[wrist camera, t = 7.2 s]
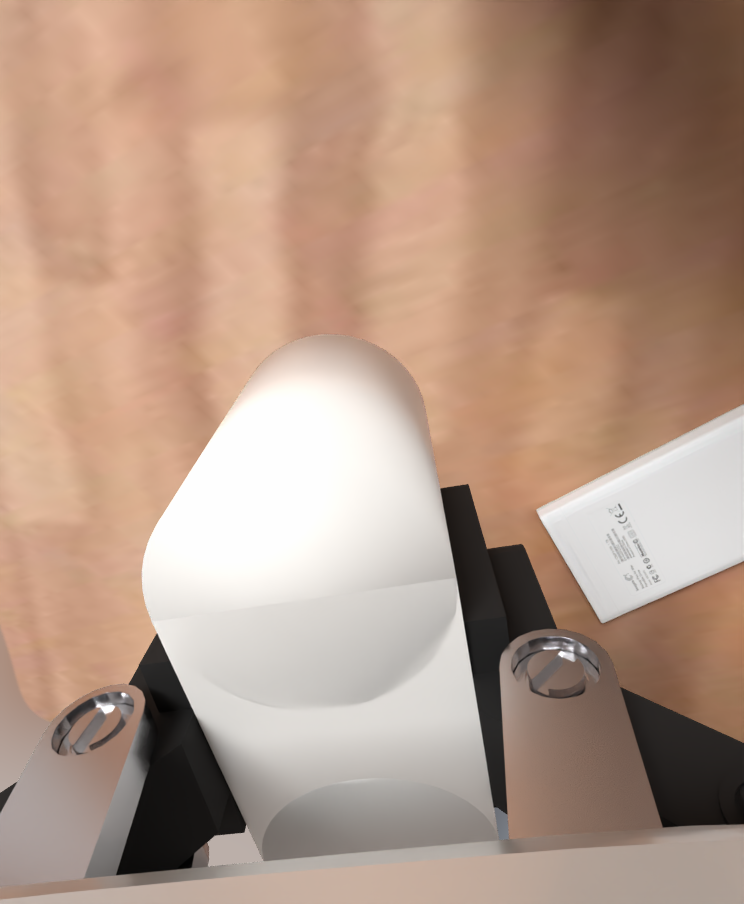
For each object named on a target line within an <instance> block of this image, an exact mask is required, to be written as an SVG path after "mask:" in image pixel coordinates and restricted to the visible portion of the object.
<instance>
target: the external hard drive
mask: <svg viewBox="0 0 744 904" xmlns="http://www.w3.org/2000/svg"><path fill="white" fill-rule="evenodd" d="M536 511H537V513H538V515H539V517H540V519H541V521H542V523H543V525H544V526H545V528H546V530H547V531H548V533H549V535H550V536H551V538H552V540H553V541H554V543H555V545H556V546H557V548H558V550H559V551H560V553H561V555H562V556H563V558H564V560H565V562H566V563H567V565H568V567H569V568H570V570H571V572H572V574H573V575H574V577H575V579H576V580H577V582H578V584H579V585H580V587H581V589H582V591H583V592H584V594H585V596H586V597H587V599H588V601H589V603H590V604H591V606H592V608H593V609H594V611H595V613H596V615H597V616H598V618H599V620H600V621H601V623H605V622H607V621H609V620H612V619H614V618H616V617H618V616H621V615H622V614H625V613H627V612H629V611H632V610H634V609H636V608H639V607H641V606H643V605H645V604H648V603H650V602H652V601H655V600H657V599H659V598H662V597H664V596H666V595H668V594H671V593H673V592H675V591H677V590H680V589H682V588H684V587H686V586H689V585H691V584H693V583H695V582H698V581H700V580H702V579H704V578H707V577H709V576H711V575H714V574H716V573H718V572H720V571H723V570H725V569H727V568H729V567H732V566H734V565H736V564H738V563H741V562H743V561H744V404H743V405H741V406H739V407H737V408H735V409H733V410H731V411H729V412H727V413H725V414H723V415H721V416H719V417H717V418H715V419H713V420H711V421H709V422H707V423H705V424H703V425H701V426H700V427H698V428H696V429H694V430H692V431H690V432H688V433H686V434H684V435H682V436H680V437H678V438H676V439H674V440H672V441H670V442H668V443H666V444H664V445H662V446H660V447H658V448H656V449H654V450H652V451H650V452H648V453H646V454H644V455H643V456H641V457H638V458H636V459H635V460H633V461H631V462H629V463H627V464H625V465H623V466H621V467H619V468H617V469H615V470H613V471H611V472H609V473H607V474H605V475H603V476H601V477H599V478H597V479H595V480H593V481H592V482H590V483H587V484H585V485H584V486H582V487H580V488H578V489H576V490H574V491H572V492H570V493H568V494H566V495H564V496H562V497H560V498H558V499H556V500H554V501H552V502H550V503H548V504H546V505H544V506H542V507H540V508H538V509H537V510H536Z"/></svg>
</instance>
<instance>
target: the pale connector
mask: <svg viewBox="0 0 744 904" xmlns="http://www.w3.org/2000/svg"><path fill="white" fill-rule="evenodd" d="M142 590H143V595H144V599H145V604H146V608H147V610H148V613H149V615H150V618H151V621H152V623H153V625H154V627H155V630H156V632H157V634H158V636H159V638H160V640H161V642H162V645H163V647H164V649H165V651H166V653H167V655H168V657H169V660H170V662H171V664H172V666H173V668H174V670H175V672H176V675H177V677H178V679H179V681H180V683H181V685H182V687H183V690H184V692H185V694H186V696H187V698H188V700H189V702H190V705H191V707H192V709H193V711H194V713H195V715H196V717H197V720H198V722H199V724H200V726H201V728H202V730H203V732H204V735H205V737H206V739H207V741H208V743H209V745H210V747H211V750H212V752H213V754H214V756H215V758H216V760H217V762H218V765H219V767H220V769H221V771H222V773H223V775H224V777H225V780H226V782H227V784H228V786H229V788H230V790H231V792H232V795H233V797H234V799H235V801H236V803H237V805H238V807H239V810H240V812H241V814H242V816H243V818H244V820H245V822H246V825H247V826H248V829H249V831H250V833H251V835H252V837H253V840H254V841H255V844H256V846H257V848H258V850H259V852H260V855H261V857H262V859H263V861H274V860H284V859H295V858H306V857H317V856H327V855H338V854H349V853H360V852H371V851H383V850H394V849H405V848H417V847H428V846H439V845H451V844H462V843H473V842H485V841H496V840H499V836H498V830H497V824H496V818H495V812H494V807H493V801H492V795H491V789H490V782H489V776H488V770H487V763H486V757H485V751H484V744H483V738H482V732H481V726H480V720H479V713H478V707H477V701H476V695H475V689H474V683H473V677H472V671H471V664H470V658H469V652H468V646H467V640H466V634H465V628H464V622H463V615H462V609H461V603H460V597H459V591H458V585H457V579H456V573H455V568H454V562H453V557H452V551H451V546H450V540H449V535H448V529H447V524H446V518H445V513H444V507H443V502H442V496H441V491H440V485H439V480H438V474H437V469H436V463H435V458H434V452H433V447H432V441H431V436H430V430H429V425H428V419H427V414H426V409H425V405H424V401H423V397H422V395H421V392H420V390H419V388H418V386H417V384H416V382H415V380H414V379H413V377H412V376H411V374H410V373H409V372H408V371H407V369H406V368H405V367H404V366H403V365H402V364H401V363H400V362H399V361H398V360H397V359H396V358H395V357H393V356H392V355H391V354H389V353H388V352H387V351H385V350H384V349H382V348H380V347H378V346H377V345H375V344H372V343H370V342H368V341H365V340H363V339H359V338H355V337H352V336H346V335H338V334H322V335H314V336H308V337H305V338H301V339H297V340H295V341H293V342H290V343H288V344H286V345H284V346H282V347H281V348H279V349H277V350H275V351H274V352H273V353H272V354H270V355H269V356H268V357H267V358H266V359H265V360H264V361H263V362H262V363H261V364H260V365H259V366H258V367H257V368H256V370H255V371H254V373H253V374H252V375H251V377H250V378H249V380H248V382H247V383H246V385H245V386H244V388H243V390H242V391H241V393H240V394H239V396H238V397H237V399H236V401H235V402H234V404H233V405H232V407H231V408H230V410H229V412H228V413H227V415H226V416H225V418H224V419H223V421H222V423H221V424H220V426H219V427H218V429H217V430H216V432H215V434H214V435H213V437H212V438H211V440H210V441H209V443H208V445H207V446H206V448H205V449H204V451H203V452H202V454H201V456H200V457H199V459H198V460H197V462H196V464H195V465H194V467H193V468H192V470H191V471H190V473H189V475H188V476H187V478H186V479H185V481H184V482H183V484H182V486H181V487H180V489H179V490H178V492H177V493H176V495H175V497H174V498H173V500H172V501H171V503H170V504H169V506H168V508H167V509H166V511H165V512H164V514H163V515H162V517H161V519H160V520H159V522H158V523H157V525H156V527H155V529H154V531H153V533H152V535H151V537H150V539H149V541H148V544H147V548H146V551H145V554H144V559H143V567H142Z"/></svg>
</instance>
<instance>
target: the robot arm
mask: <svg viewBox="0 0 744 904" xmlns="http://www.w3.org/2000/svg"><path fill="white" fill-rule="evenodd" d="M440 490H441V496H442V502H443V507H444V513H445V518H446V524H447V529H448V535H449V540H450V546H451V551H452V557H453V562H454V568H455V573H456V579H457V585H458V591H459V597H460V603H461V609H462V615H463V622H464V628H465V634H466V640H467V646H468V652H469V658H470V664H471V671H472V677H473V683H474V689H475V695H476V701H477V707H478V713H479V720H480V726H481V732H482V738H483V744H484V751H485V757H486V763H487V770H488V776H489V782H490V789H491V795H492V801H493V807H497V808H499V809H500V810H502V811H503V812H505V813H506V814H507V815H508V827H509V839H508V840H496V841H485V842H473V843H462V844H451V845H439V846H428V847H417V848H405V849H394V850H383V851H371V852H360V853H349V854H338V855H327V856H317V857H306V858H295V859H284V860H274V861H263V862H252V863H242V864H232V865H221V866H210V867H208V862H209V846H208V843H207V842H208V841H209V840H210V839H211V838H213V837H214V836H215V835H225V834H235V833H244V832H245V828H246V822H245V820H244V818H243V816H242V814H241V812H240V810H239V807H238V805H237V803H236V801H235V799H234V797H233V795H232V792H231V790H230V788H229V786H228V784H227V782H226V780H225V777H224V775H223V773H222V771H221V769H220V767H219V765H218V762H217V760H216V758H215V756H214V754H213V752H212V750H211V747H210V745H209V743H208V741H207V739H206V737H205V735H204V732H203V730H202V728H201V726H200V724H199V722H198V720H197V717H196V715H195V713H194V711H193V709H192V707H191V705H190V702H189V700H188V698H187V696H186V694H185V692H184V690H183V687H182V685H181V683H180V681H179V679H178V677H177V675H176V672H175V670H174V668H173V666H172V664H171V662H170V660H169V657H168V655H167V653H166V651H165V649H164V647H163V645H162V642H161V640H160V638H159V636H158V634H156V636H155V638H154V639H153V641H152V643H151V645H150V646H149V648H148V650H147V652H146V654H145V655H144V657H143V659H142V661H141V662H140V664H139V667H138V669H137V670H136V672H135V674H134V676H133V678H132V679H131V681H130V683H129V685H127V684H118V685H110V686H107V687H103V688H100V689H97V690H94V691H92V692H90V693H89V694H87V695H85V696H83V697H81V698H79V699H78V700H76V701H75V702H73V703H72V704H70V705H69V706H68V707H66V708H65V709H64V710H63V711H62V712H61V713H60V714H59V715H58V716H57V717H56V718H55V719H53V721H52V722H51V723H50V725H49V726H48V728H47V729H46V730H45V732H44V733H43V735H42V737H41V739H40V741H39V743H38V745H37V746H36V748H35V750H34V752H33V754H32V756H31V758H30V759H29V761H28V763H27V765H26V767H25V769H24V770H23V772H22V774H21V776H20V778H19V780H18V782H16V783H15V784H13V785H12V786H10V787H8V788H7V789H5V790H4V791H2V792H1V793H0V904H744V743H742V742H740V741H738V740H736V739H733V738H731V737H729V736H727V735H725V734H722V733H720V732H718V731H716V730H714V729H711V728H709V727H707V726H705V725H703V724H700V723H698V722H696V721H694V720H692V719H689V718H687V717H685V716H683V715H681V714H678V713H676V712H674V711H672V710H670V709H667V708H665V707H663V706H661V705H658V704H656V703H654V702H652V701H650V700H647V699H645V698H643V697H641V696H639V695H636V694H634V693H632V692H630V691H628V690H625V689H623V688H621V687H620V685H619V682H618V678H617V675H616V672H615V669H614V665H613V663H612V661H611V659H610V657H609V655H608V653H607V652H606V651H605V650H604V649H603V648H602V647H601V646H600V645H599V644H598V643H597V642H596V641H594V640H592V639H590V638H588V637H586V636H584V635H582V634H580V633H576V632H572V631H568V630H562V629H557V627H556V625H555V622H554V620H553V617H552V615H551V612H550V610H549V607H548V605H547V602H546V600H545V597H544V595H543V592H542V590H541V587H540V585H539V582H538V580H537V578H536V575H535V573H534V570H533V568H532V565H531V563H530V560H529V558H528V555H527V553H526V550H525V548H524V546H523V545H522V544H519V545H512V546H505V547H498V548H491V549H487V548H486V544H485V541H484V537H483V534H482V530H481V527H480V523H479V520H478V516H477V513H476V509H475V506H474V502H473V499H472V495H471V492H470V488H469V485H468V484H466V485H460V486H454V487H447V488H441V489H440Z"/></svg>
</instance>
